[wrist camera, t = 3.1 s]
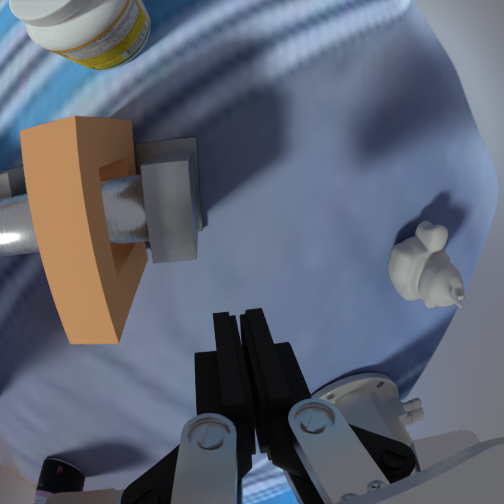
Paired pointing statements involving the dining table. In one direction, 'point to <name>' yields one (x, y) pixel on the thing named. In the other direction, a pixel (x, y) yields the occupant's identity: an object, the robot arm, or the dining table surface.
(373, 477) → the robot arm
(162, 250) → the pipe rig
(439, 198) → the dining table surface
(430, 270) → the grey figurine
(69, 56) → the supplement bottle
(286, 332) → the dining table surface
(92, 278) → the collar
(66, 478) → the beverage can
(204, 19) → the dining table surface
